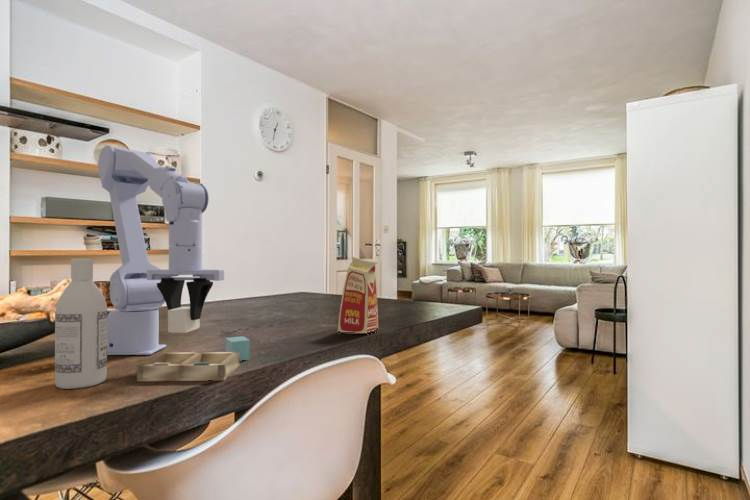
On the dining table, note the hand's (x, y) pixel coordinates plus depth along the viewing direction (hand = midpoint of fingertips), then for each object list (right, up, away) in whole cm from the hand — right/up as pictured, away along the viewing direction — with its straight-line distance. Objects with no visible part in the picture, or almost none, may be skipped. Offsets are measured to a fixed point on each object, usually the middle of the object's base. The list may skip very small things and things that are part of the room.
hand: (185, 319), depth 82 cm
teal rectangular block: (+8, -9, +5) cm, 13 cm away
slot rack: (+3, -9, -6) cm, 11 cm away
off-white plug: (0, -2, 0) cm, 2 cm away
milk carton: (+32, -9, +35) cm, 48 cm away
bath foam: (-12, -9, -12) cm, 19 cm away
